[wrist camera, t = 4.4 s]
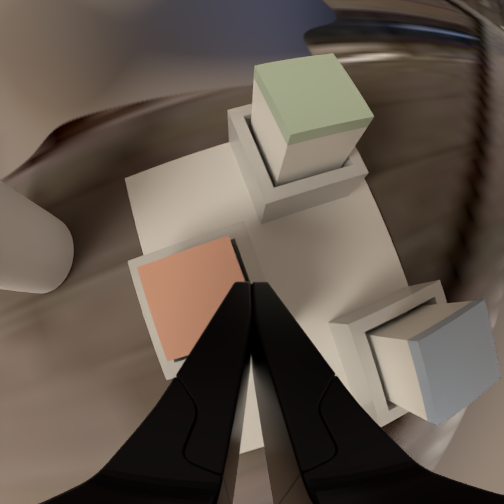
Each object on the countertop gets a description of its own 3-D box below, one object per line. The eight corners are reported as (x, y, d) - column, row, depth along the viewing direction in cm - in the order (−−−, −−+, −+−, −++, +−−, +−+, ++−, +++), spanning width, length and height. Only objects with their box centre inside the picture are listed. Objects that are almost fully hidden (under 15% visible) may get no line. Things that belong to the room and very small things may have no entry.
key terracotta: (255, 324, 20) (262, 329, 14) (188, 347, 20) (167, 361, 14) (231, 257, 21) (228, 235, 15) (166, 280, 20) (137, 267, 14)
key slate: (440, 366, 18) (500, 378, 12) (385, 398, 17) (438, 426, 11) (423, 305, 18) (484, 299, 12) (365, 334, 18) (418, 341, 12)
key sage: (340, 168, 20) (374, 116, 14) (275, 187, 19) (290, 134, 13) (312, 113, 21) (333, 53, 15) (250, 127, 20) (254, 65, 14)
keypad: (431, 367, 21) (464, 374, 16) (219, 458, 19) (215, 487, 15) (331, 117, 24) (346, 85, 20) (125, 179, 23) (104, 153, 18)
